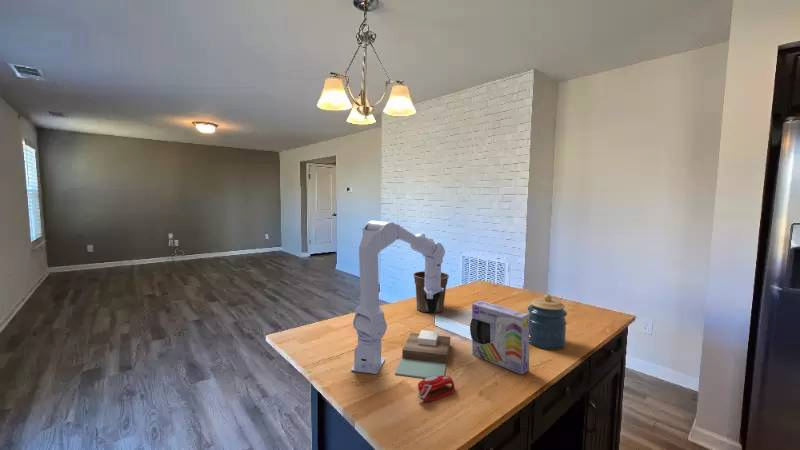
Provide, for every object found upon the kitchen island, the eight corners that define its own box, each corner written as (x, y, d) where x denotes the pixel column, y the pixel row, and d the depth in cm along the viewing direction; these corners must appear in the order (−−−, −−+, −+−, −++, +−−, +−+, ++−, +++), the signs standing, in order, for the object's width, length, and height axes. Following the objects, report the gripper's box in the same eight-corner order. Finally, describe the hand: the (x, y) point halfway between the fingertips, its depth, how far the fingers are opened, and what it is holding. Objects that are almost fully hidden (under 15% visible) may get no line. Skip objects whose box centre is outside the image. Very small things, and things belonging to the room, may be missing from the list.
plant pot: (430, 301, 171) (431, 269, 170) (455, 310, 159) (456, 275, 157) (405, 308, 161) (406, 273, 159) (430, 317, 148) (431, 280, 147)
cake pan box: (468, 353, 115) (469, 301, 114) (477, 349, 118) (479, 298, 117) (520, 377, 100) (523, 317, 99) (529, 371, 104) (532, 314, 102)
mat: (443, 380, 98) (443, 379, 98) (394, 374, 101) (394, 373, 101) (446, 364, 107) (446, 363, 107) (401, 359, 110) (401, 358, 110)
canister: (554, 354, 115) (556, 302, 114) (519, 341, 125) (521, 293, 124) (572, 343, 124) (574, 295, 122) (537, 332, 134) (539, 287, 132)
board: (446, 364, 107) (446, 354, 107) (402, 358, 110) (402, 349, 110) (450, 345, 121) (450, 336, 121) (410, 341, 124) (410, 332, 124)
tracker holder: (415, 376, 98) (449, 368, 98) (418, 392, 98) (453, 384, 98) (415, 390, 86) (454, 381, 86) (419, 409, 86) (459, 400, 86)
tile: (435, 345, 113) (436, 339, 113) (417, 343, 115) (417, 338, 115) (438, 337, 120) (438, 331, 120) (421, 335, 122) (421, 330, 121)
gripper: (441, 281, 116) (441, 320, 117) (445, 272, 130) (445, 307, 131) (420, 279, 117) (420, 319, 118) (427, 270, 131) (426, 305, 132)
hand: (431, 312), depth 125 cm, fingers closed
